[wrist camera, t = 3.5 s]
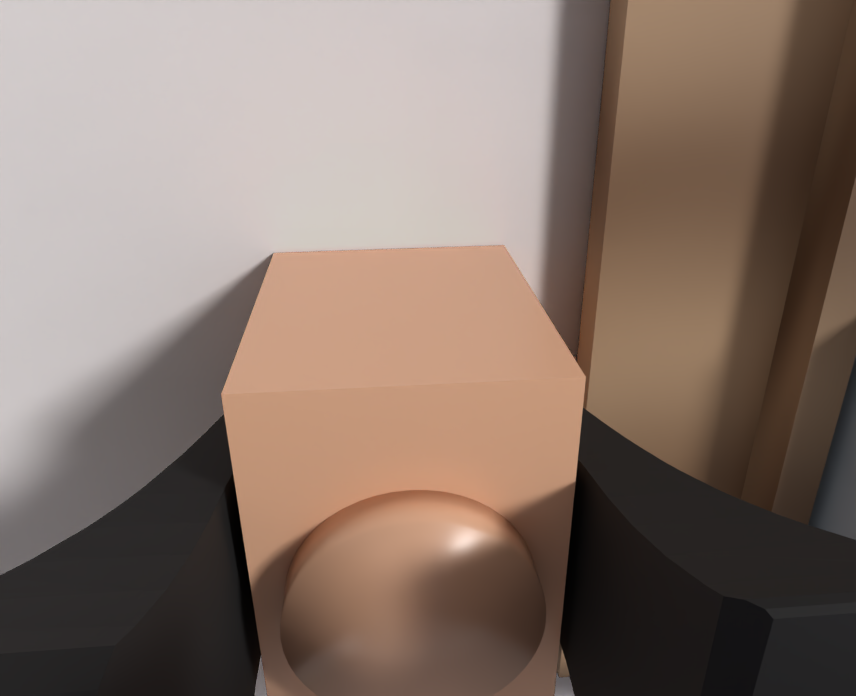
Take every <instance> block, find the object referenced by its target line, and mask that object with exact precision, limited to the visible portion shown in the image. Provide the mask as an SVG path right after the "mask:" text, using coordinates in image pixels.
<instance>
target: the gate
mask: <svg viewBox="0 0 856 696" xmlns="http://www.w3.org/2000/svg"><path fill="white" fill-rule="evenodd" d="M808 525H810V526H813V527H816V528H819V529H823V530H826V531H829V532H832V533H835V534H839V535H842V536H845V537H848V538H851V539H855V540H856V357H855V360H854V364H853V367H852V371H851V374H850V378H849V381H848V385H847V389H846V392H845V396H844V399H843V403H842V406H841V410H840V413H839V417H838V421H837V424H836V428H835V431H834V435H833V438H832V442H831V445H830V449H829V452H828V456H827V460H826V463H825V467H824V470H823V474H822V477H821V481H820V484H819V488H818V491H817V495H816V499H815V502H814V506H813V509H812V513H811V516H810V520H809V523H808Z"/></svg>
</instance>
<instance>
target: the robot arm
mask: <svg viewBox="0 0 856 696" xmlns="http://www.w3.org/2000/svg"><path fill="white" fill-rule="evenodd" d="M560 644H561V647H562V650H563V653H564V657H565V660H566V663H567V667H568V671H569V675H570V679H571V683H572V687H573V691H574V695H575V696H856V540H855V539H851V538H848V537H845V536H842V535H839V534H835V533H832V532H829V531H826V530H823V529H819V528H816V527H813V526H810V525H807V524H804V523H801V522H798V521H795V520H792V519H790V518H787V517H784V516H781V515H778V514H776V513H773V512H771V511H768V510H766V509H763V508H761V507H758V506H756V505H753V504H751V503H748V502H746V501H743V500H741V499H738V498H736V497H734V496H731V495H729V494H727V493H725V492H722V491H720V490H718V489H716V488H714V487H712V486H710V485H708V484H706V483H704V482H702V481H700V480H698V479H696V478H694V477H692V476H690V475H688V474H686V473H684V472H682V471H680V470H678V469H676V468H675V467H673V466H671V465H669V464H667V463H666V462H664V461H662V460H661V459H659V458H657V457H656V456H654V455H652V454H651V453H649V452H648V451H646V450H644V449H643V448H641V447H639V446H638V445H636V444H635V443H633V442H632V441H630V440H629V439H627V438H625V437H624V436H622V435H621V434H620V433H618V432H617V431H615V430H614V429H612V428H611V427H609V426H608V425H607V424H605V423H604V422H602V421H601V420H599V419H598V418H597V417H595V416H594V415H593V414H591V413H590V412H588V411H587V410H586V409H584V408H583V412H582V422H581V432H580V442H579V452H578V462H577V472H576V482H575V492H574V502H573V512H572V522H571V532H570V542H569V552H568V562H567V573H566V583H565V593H564V603H563V613H562V623H561V633H560ZM260 657H261V651H260V644H259V638H258V631H257V625H256V618H255V612H254V605H253V599H252V592H251V586H250V579H249V573H248V566H247V560H246V553H245V547H244V540H243V534H242V527H241V521H240V514H239V508H238V501H237V495H236V488H235V482H234V475H233V469H232V462H231V456H230V449H229V443H228V436H227V430H226V423H225V417H224V415H223V416H222V417H221V418H220V419H219V420H218V421H217V422H216V423H215V424H214V425H213V426H212V427H211V428H210V429H209V430H208V431H207V432H206V433H205V434H204V435H203V436H202V437H201V438H199V439H198V440H197V441H196V442H195V443H194V444H193V445H192V446H191V447H190V448H189V449H188V450H187V451H186V452H185V453H184V454H183V455H181V456H180V457H179V458H178V459H177V460H176V461H174V462H173V463H172V464H171V465H170V466H168V467H167V468H166V469H165V470H164V471H163V472H161V473H160V474H159V475H158V476H157V477H155V478H154V479H153V480H152V481H151V482H150V483H148V484H147V485H146V486H145V487H144V488H142V489H141V490H140V491H138V492H137V493H136V494H134V495H133V496H132V497H130V498H129V499H128V500H126V501H125V502H124V503H122V504H121V505H119V506H118V507H116V508H115V509H114V510H112V511H111V512H109V513H108V514H106V515H105V516H103V517H102V518H100V519H99V520H97V521H96V522H94V523H93V524H91V525H90V526H88V527H87V528H85V529H83V530H82V531H80V532H78V533H76V534H75V535H73V536H71V537H70V538H68V539H66V540H64V541H63V542H61V543H59V544H58V545H56V546H54V547H52V548H51V549H49V550H47V551H45V552H44V553H42V554H40V555H39V556H37V557H35V558H33V559H32V560H30V561H28V562H26V563H24V564H22V565H20V566H18V567H16V568H14V569H12V570H10V571H8V572H6V573H4V574H2V575H0V696H254V693H255V685H256V679H257V673H258V667H259V662H260Z"/></svg>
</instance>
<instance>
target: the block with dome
mask: <svg viewBox="0 0 856 696" xmlns="http://www.w3.org/2000/svg"><path fill="white" fill-rule="evenodd" d="M585 382H586V376H585V375H584V373H583V371H582V370H581V368H580V367H579V365H578V363H577V362H576V360H575V359H574V357H573V355H572V354H571V352H570V351H569V349H568V347H567V346H566V344H565V343H564V341H563V339H562V338H561V336H560V334H559V333H558V331H557V330H556V328H555V326H554V325H553V323H552V322H551V320H550V318H549V317H548V315H547V314H546V312H545V310H544V309H543V307H542V305H541V304H540V302H539V301H538V299H537V297H536V296H535V294H534V293H533V291H532V289H531V288H530V286H529V285H528V283H527V281H526V280H525V278H524V277H523V275H522V273H521V272H520V270H519V268H518V267H517V265H516V264H515V262H514V260H513V259H512V257H511V256H510V254H509V252H508V251H507V249H506V248H505V246H504V245H497V246H467V247H437V248H407V249H377V250H348V251H318V252H288V253H274V254H273V256H272V259H271V262H270V264H269V267H268V270H267V272H266V275H265V278H264V281H263V283H262V286H261V289H260V291H259V294H258V297H257V299H256V302H255V305H254V307H253V310H252V313H251V315H250V318H249V321H248V324H247V326H246V329H245V332H244V334H243V337H242V340H241V342H240V345H239V348H238V350H237V353H236V356H235V358H234V361H233V364H232V367H231V369H230V372H229V375H228V377H227V380H226V383H225V385H224V388H223V391H222V393H221V397H222V404H223V410H224V417H225V423H226V430H227V436H228V443H229V449H230V456H231V462H232V469H233V475H234V482H235V488H236V495H237V501H238V508H239V514H240V521H241V527H242V534H243V540H244V547H245V553H246V560H247V566H248V573H249V579H250V586H251V592H252V599H253V605H254V612H255V618H256V625H257V631H258V638H259V644H260V651H261V657H262V664H263V670H264V677H265V683H266V690H267V696H554V693H555V683H556V673H557V663H558V653H559V643H560V633H561V623H562V613H563V603H564V593H565V583H566V573H567V562H568V552H569V542H570V532H571V522H572V512H573V502H574V492H575V482H576V472H577V462H578V452H579V442H580V432H581V422H582V412H583V402H584V392H585Z"/></svg>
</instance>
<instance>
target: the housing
mask: <svg viewBox="0 0 856 696" xmlns="http://www.w3.org/2000/svg"><path fill="white" fill-rule="evenodd" d="M855 357H856V0H611V1H610V11H609V22H608V33H607V44H606V55H605V65H604V76H603V87H602V98H601V109H600V119H599V130H598V141H597V152H596V163H595V173H594V184H593V195H592V206H591V217H590V227H589V238H588V249H587V260H586V271H585V281H584V292H583V303H582V314H581V325H580V335H579V346H578V357H577V363H578V365H579V367H580V368H581V370H582V371H583V373H584V375H585V376H586V382H585V392H584V402H583V408H584V409H586V410H587V411H588V412H590V413H591V414H593V415H594V416H595V417H597V418H598V419H599V420H601V421H602V422H604V423H605V424H607V425H608V426H609V427H611V428H612V429H614V430H615V431H617V432H618V433H620V434H621V435H622V436H624V437H625V438H627V439H629V440H630V441H632V442H633V443H635V444H636V445H638V446H639V447H641V448H643V449H644V450H646V451H648V452H649V453H651V454H652V455H654V456H656V457H657V458H659V459H661V460H662V461H664V462H666V463H667V464H669V465H671V466H673V467H675V468H676V469H678V470H680V471H682V472H684V473H686V474H688V475H690V476H692V477H694V478H696V479H698V480H700V481H702V482H704V483H706V484H708V485H710V486H712V487H714V488H716V489H718V490H720V491H722V492H725V493H727V494H729V495H731V496H734V497H736V498H738V499H741V500H743V501H746V502H748V503H751V504H753V505H756V506H758V507H761V508H763V509H766V510H768V511H771V512H773V513H776V514H778V515H781V516H784V517H787V518H790V519H792V520H795V521H798V522H801V523H804V524H807V525H808V523H809V520H810V516H811V513H812V509H813V506H814V502H815V499H816V495H817V491H818V488H819V484H820V481H821V477H822V474H823V470H824V467H825V463H826V460H827V456H828V452H829V449H830V445H831V442H832V438H833V435H834V431H835V428H836V424H837V421H838V417H839V413H840V410H841V406H842V403H843V399H844V396H845V392H846V389H847V385H848V381H849V378H850V374H851V371H852V367H853V364H854V360H855ZM557 672H558V676H559V677H570V675H569V671H568V667H567V663H566V660H565V657H564V653H563V650H562V647H561V644H560V643H559V653H558V663H557Z"/></svg>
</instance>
